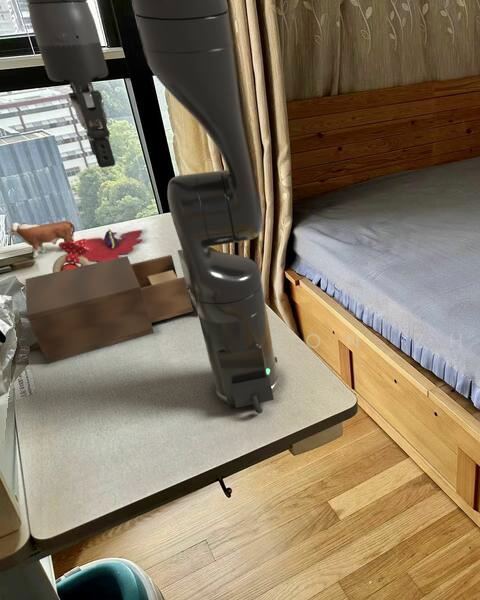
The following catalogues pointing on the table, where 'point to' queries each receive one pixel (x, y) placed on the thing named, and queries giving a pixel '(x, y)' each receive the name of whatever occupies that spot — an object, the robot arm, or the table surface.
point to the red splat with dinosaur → (111, 246)
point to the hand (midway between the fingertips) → (104, 160)
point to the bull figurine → (43, 234)
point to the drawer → (164, 288)
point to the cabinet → (86, 308)
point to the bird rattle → (72, 255)
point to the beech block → (162, 277)
